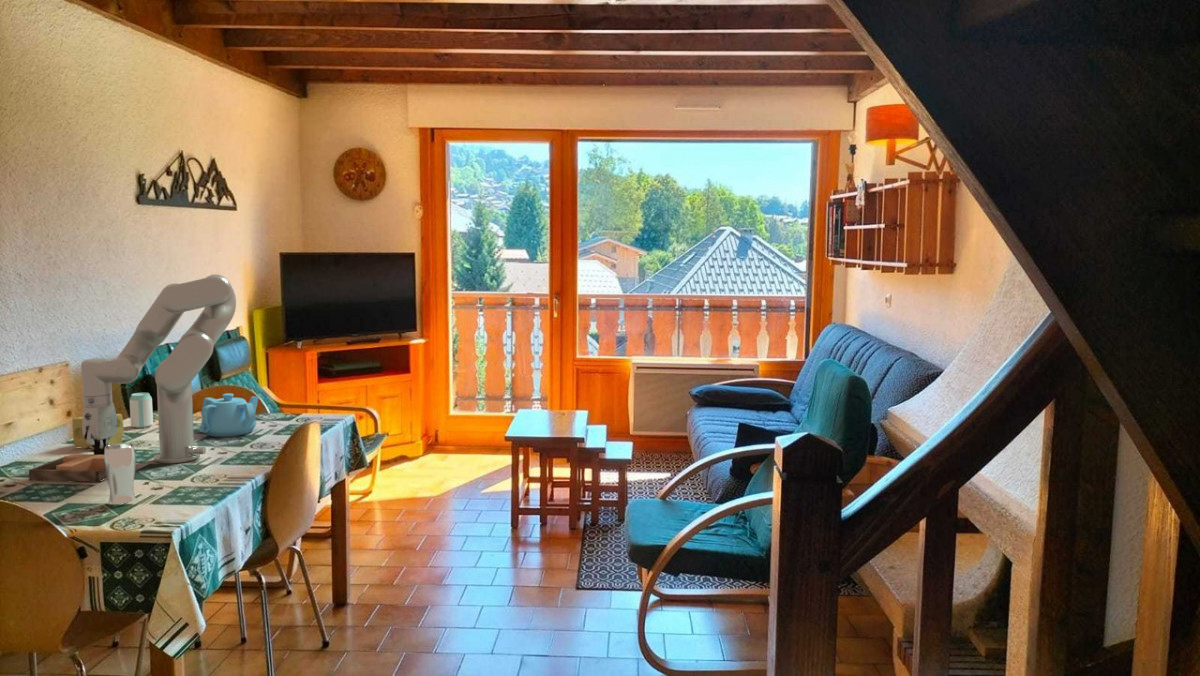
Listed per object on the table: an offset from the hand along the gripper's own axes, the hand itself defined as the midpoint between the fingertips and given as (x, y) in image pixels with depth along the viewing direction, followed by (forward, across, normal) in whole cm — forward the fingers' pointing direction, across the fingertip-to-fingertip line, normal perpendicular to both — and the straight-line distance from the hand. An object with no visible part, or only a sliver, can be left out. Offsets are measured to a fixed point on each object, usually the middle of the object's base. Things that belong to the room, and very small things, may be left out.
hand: (101, 460), depth 247 cm
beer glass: (+2, -34, -27) cm, 43 cm away
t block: (+2, -8, +1) cm, 9 cm away
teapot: (+2, +46, -17) cm, 50 cm away
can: (+2, +52, +18) cm, 55 cm away
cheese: (+2, +24, +16) cm, 28 cm away
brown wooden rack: (+2, -9, 0) cm, 9 cm away
